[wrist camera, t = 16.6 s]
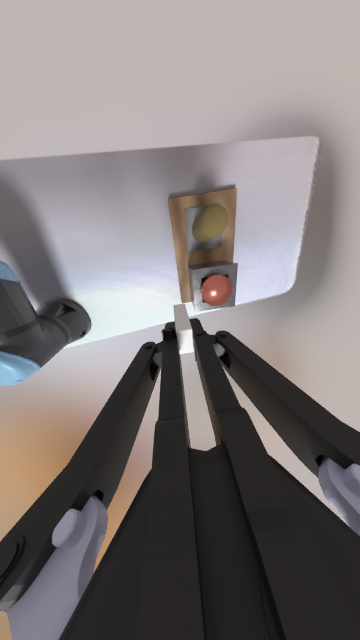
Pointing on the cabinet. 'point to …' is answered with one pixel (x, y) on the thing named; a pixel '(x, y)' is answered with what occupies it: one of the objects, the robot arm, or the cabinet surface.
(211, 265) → the grey push button box
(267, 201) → the cabinet surface
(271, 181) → the cabinet surface
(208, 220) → the olive knobbed peg
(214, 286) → the press plunger
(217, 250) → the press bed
